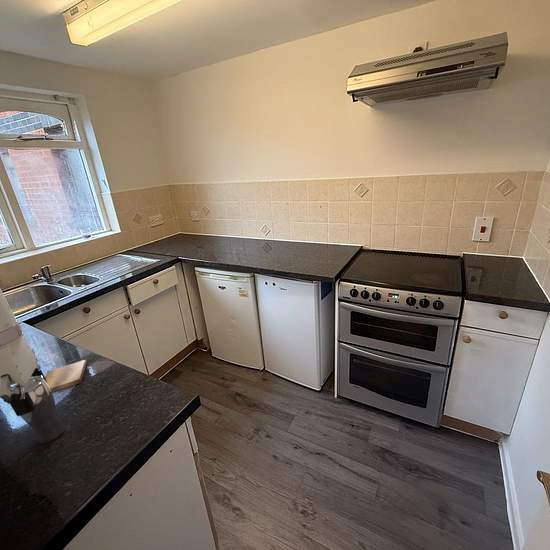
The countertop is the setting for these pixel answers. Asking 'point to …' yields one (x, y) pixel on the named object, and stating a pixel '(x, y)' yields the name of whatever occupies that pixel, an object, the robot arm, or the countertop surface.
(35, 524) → the countertop surface
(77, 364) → the board
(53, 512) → the countertop surface
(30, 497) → the countertop surface
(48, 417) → the beer glass
